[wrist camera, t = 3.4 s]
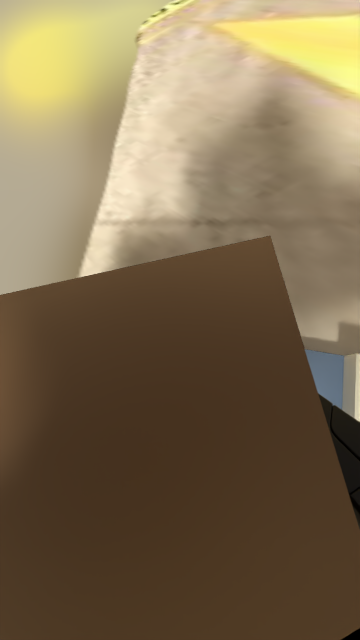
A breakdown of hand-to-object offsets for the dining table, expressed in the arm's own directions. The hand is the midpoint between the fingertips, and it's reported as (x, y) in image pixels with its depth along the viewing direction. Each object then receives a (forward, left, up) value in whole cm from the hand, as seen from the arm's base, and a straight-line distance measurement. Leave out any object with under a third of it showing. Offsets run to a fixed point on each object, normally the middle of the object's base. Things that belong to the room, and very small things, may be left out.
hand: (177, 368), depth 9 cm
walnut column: (-1, 0, -7) cm, 7 cm away
